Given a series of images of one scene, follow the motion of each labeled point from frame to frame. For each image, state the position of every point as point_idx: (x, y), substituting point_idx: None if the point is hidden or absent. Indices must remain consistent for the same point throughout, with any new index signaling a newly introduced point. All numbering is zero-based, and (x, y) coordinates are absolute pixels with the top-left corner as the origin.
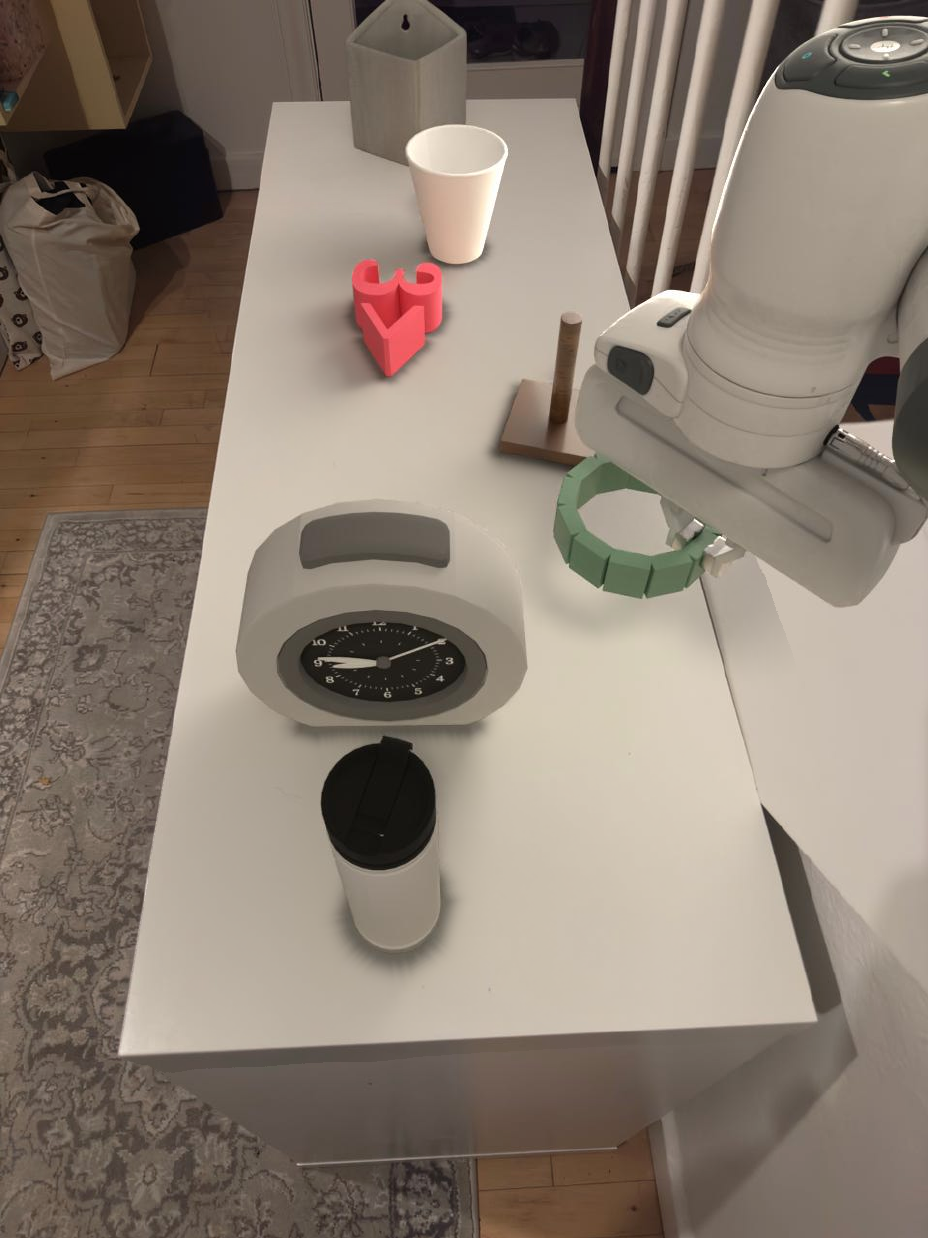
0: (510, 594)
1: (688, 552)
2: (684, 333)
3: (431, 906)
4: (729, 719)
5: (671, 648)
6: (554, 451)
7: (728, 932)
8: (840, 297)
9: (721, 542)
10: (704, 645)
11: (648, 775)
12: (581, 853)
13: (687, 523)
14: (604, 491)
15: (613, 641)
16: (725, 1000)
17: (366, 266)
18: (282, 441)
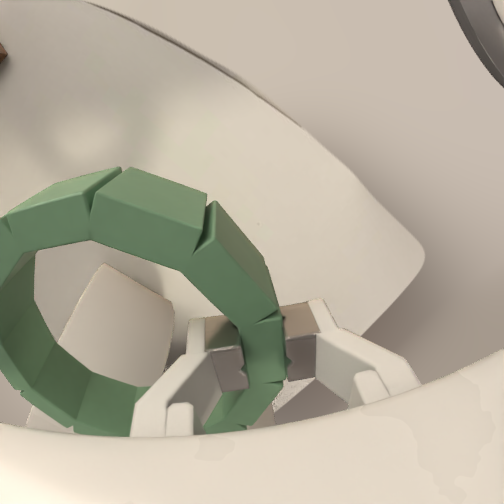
0: (117, 371)
1: (262, 380)
2: None
3: (273, 413)
4: (292, 130)
5: (200, 115)
6: None
7: (386, 259)
8: None
9: (302, 348)
10: (219, 86)
11: (282, 224)
12: (291, 299)
13: (213, 371)
14: (32, 290)
15: (160, 157)
16: (400, 284)
17: None
18: None
